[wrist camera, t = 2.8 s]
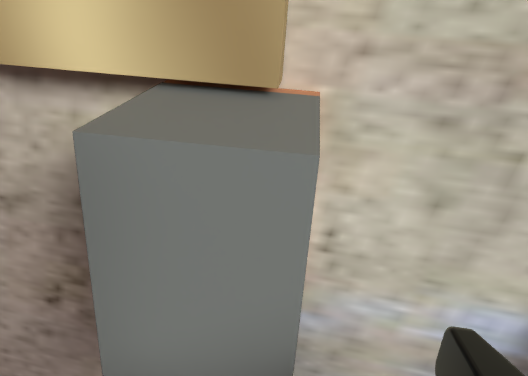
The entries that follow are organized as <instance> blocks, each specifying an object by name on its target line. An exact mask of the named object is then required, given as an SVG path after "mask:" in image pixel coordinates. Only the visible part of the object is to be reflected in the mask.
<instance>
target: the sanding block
mask: <svg viewBox="0 0 528 376" xmlns="http://www.w3.org/2000/svg"><path fill="white" fill-rule="evenodd" d="M73 140H74V148H75V156H76V164H77V172H78V180H79V188H80V196H81V204H82V213H83V221H84V229H85V237H86V245H87V253H88V261H89V269H90V277H91V285H92V293H93V301H94V310H95V318H96V326H97V334H98V342H99V350H100V358H101V366H102V374H103V376H293V371H294V363H295V354H296V346H297V338H298V330H299V322H300V313H301V305H302V297H303V289H304V281H305V272H306V264H307V256H308V248H309V240H310V231H311V223H312V215H313V207H314V198H315V190H316V182H317V174H318V166H319V157H320V92H314V91H302V90H291V89H279V88H266V87H255V86H243V85H232V84H221V83H209V82H197V81H185V80H174V79H167V80H166V81H164V82H162V83H160V84H158V85H157V86H155V87H153V88H151V89H149V90H147V91H146V92H144V93H142V94H140V95H138V96H136V97H135V98H133V99H131V100H129V101H127V102H125V103H124V104H122V105H120V106H118V107H116V108H115V109H113V110H111V111H109V112H107V113H105V114H104V115H102V116H100V117H98V118H96V119H94V120H93V121H91V122H89V123H87V124H85V125H84V126H82V127H80V128H78V129H76V130H74V131H73Z"/></svg>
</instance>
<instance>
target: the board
mask: <svg viewBox="0 0 528 376" xmlns="http://www.w3.org/2000/svg"><path fill="white" fill-rule="evenodd" d="M287 11H288V0H0V64H5V65H16V66H28V67H39V68H50V69H62V70H73V71H84V72H96V73H107V74H119V75H130V76H141V77H153V78H164V79H175V80H187V81H198V82H209V83H221V84H232V85H243V86H255V87H266V88H278V87H279V85H280V83H281V81H282V73H283V61H284V48H285V36H286V23H287Z"/></svg>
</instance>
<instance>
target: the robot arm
mask: <svg viewBox="0 0 528 376" xmlns="http://www.w3.org/2000/svg"><path fill="white" fill-rule="evenodd" d="M435 374H436V376H525V375H524V374H523V373H522V372H520V371H519V370H518V369H517V368H516V367H515V366H514V365H512V364H511V363H510V362H509V361H508V360H507V359H506V358H505V357H503V356H502V355H501V354H500V353H499V352H498V351H497V350H495V349H494V348H493V347H492V346H491V345H490V344H489V343H488V342H486V341H485V340H484V339H483V338H482V337H481V336H480V335H478V334H477V333H476V332H475V331H473V330H472V329H467V328H459V327H449V328H447V329H446V331H445V333H444V336H443V339H442V343H441V346H440V349H439V353H438V356H437V359H436V365H435Z"/></svg>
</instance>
